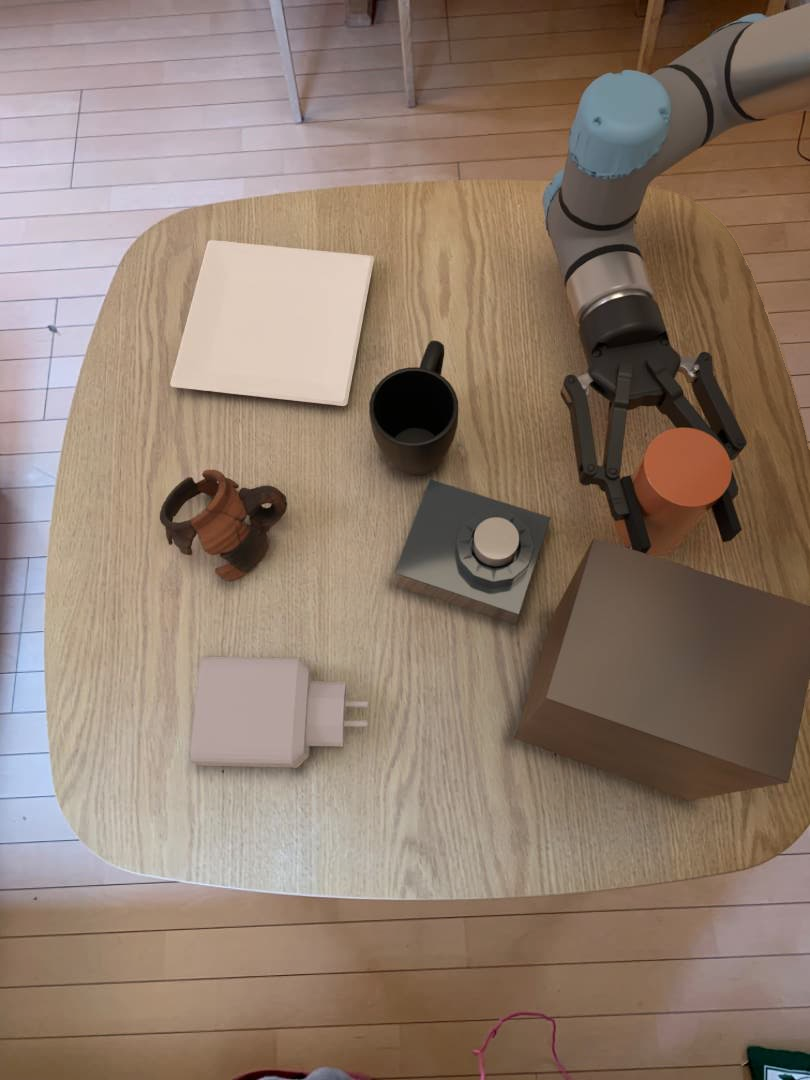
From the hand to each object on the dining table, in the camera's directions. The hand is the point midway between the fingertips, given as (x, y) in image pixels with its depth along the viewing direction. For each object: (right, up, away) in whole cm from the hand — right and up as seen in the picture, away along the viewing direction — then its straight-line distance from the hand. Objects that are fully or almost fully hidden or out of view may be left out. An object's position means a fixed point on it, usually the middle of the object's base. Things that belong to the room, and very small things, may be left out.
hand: (687, 543), depth 71 cm
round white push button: (-16, 0, +6) cm, 17 cm away
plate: (-38, +23, +21) cm, 49 cm away
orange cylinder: (-1, +2, +8) cm, 9 cm away
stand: (-4, -15, +6) cm, 16 cm away
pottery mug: (-41, +1, +13) cm, 43 cm away
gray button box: (-17, -2, +11) cm, 21 cm away
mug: (-22, +11, +16) cm, 29 cm away
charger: (-34, -16, +7) cm, 39 cm away
